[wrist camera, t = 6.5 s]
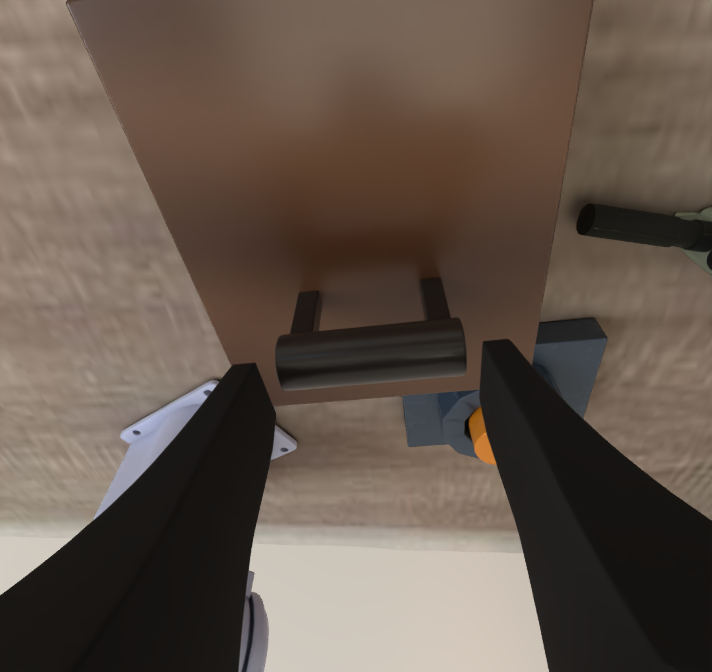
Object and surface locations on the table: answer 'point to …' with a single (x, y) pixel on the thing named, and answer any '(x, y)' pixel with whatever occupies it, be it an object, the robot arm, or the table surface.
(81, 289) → the table surface
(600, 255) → the table surface
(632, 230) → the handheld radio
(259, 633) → the robot arm
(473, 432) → the button
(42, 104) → the table surface
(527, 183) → the lid
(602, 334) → the block
